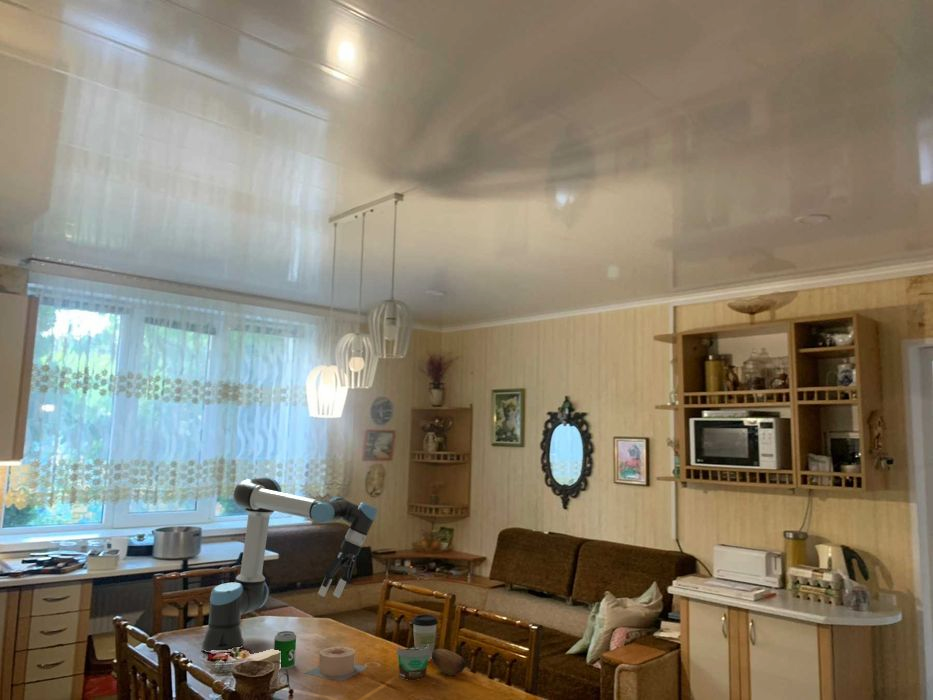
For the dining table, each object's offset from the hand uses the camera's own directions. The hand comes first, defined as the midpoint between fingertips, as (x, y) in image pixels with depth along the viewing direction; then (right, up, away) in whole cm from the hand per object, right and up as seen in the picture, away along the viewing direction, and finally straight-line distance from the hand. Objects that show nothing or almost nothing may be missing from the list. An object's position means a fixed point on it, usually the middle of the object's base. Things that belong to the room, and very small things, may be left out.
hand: (328, 595), depth 248 cm
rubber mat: (+7, -19, -20) cm, 29 cm away
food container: (+35, -20, -24) cm, 47 cm away
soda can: (-12, -20, -17) cm, 29 cm away
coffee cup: (+37, -23, -3) cm, 43 cm away
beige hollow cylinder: (+7, -18, -20) cm, 28 cm away
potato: (+46, -21, -18) cm, 54 cm away
